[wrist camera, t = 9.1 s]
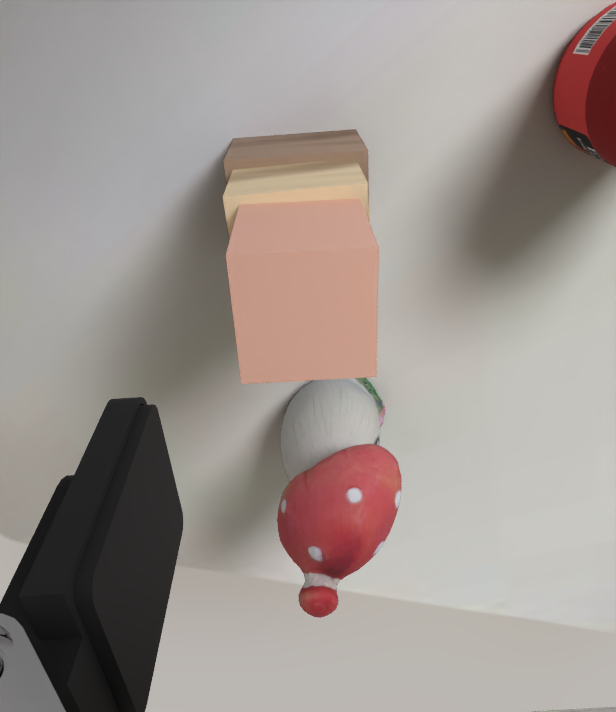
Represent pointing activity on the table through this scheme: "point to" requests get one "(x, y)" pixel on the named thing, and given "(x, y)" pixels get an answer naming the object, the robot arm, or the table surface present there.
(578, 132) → the canned food
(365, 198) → the oak block
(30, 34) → the table surface
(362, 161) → the walnut base
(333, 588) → the decorative ornament
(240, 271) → the terracotta block
